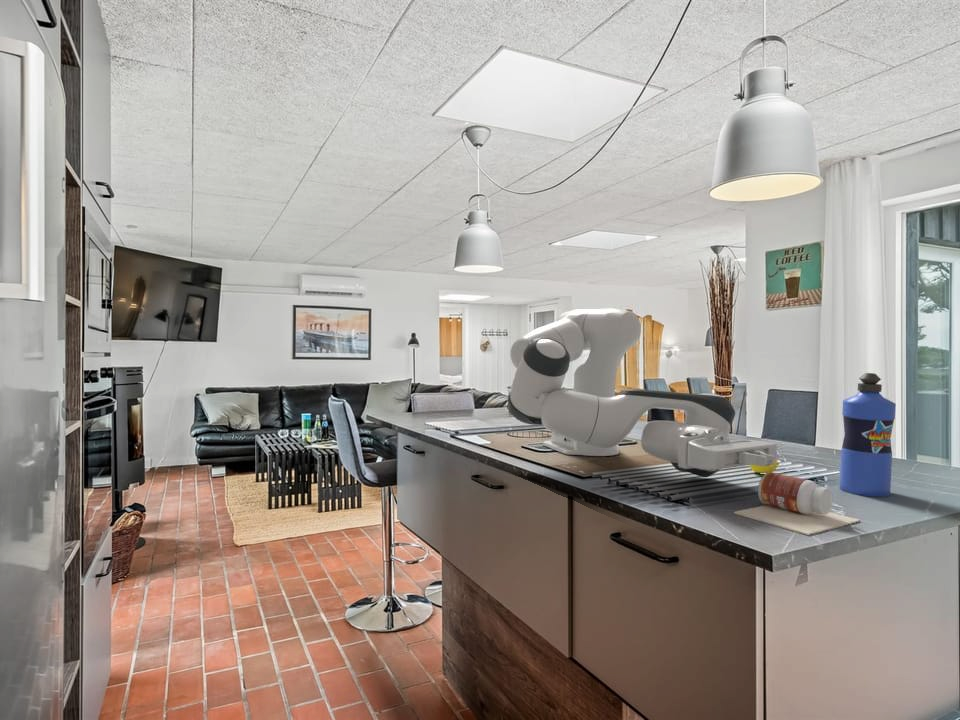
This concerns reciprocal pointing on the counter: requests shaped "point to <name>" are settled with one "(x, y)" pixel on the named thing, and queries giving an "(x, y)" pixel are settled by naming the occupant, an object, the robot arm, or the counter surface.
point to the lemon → (764, 468)
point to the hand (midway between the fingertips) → (770, 461)
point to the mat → (797, 519)
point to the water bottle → (867, 440)
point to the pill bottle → (794, 494)
